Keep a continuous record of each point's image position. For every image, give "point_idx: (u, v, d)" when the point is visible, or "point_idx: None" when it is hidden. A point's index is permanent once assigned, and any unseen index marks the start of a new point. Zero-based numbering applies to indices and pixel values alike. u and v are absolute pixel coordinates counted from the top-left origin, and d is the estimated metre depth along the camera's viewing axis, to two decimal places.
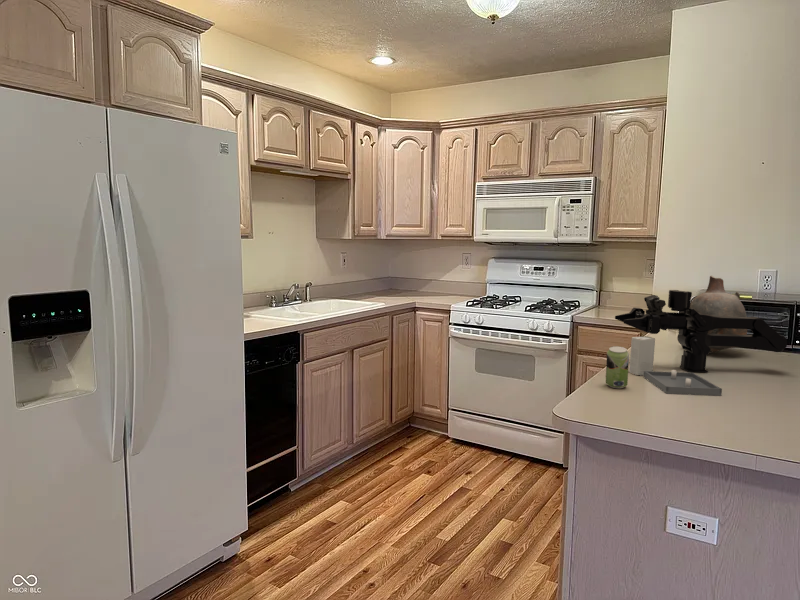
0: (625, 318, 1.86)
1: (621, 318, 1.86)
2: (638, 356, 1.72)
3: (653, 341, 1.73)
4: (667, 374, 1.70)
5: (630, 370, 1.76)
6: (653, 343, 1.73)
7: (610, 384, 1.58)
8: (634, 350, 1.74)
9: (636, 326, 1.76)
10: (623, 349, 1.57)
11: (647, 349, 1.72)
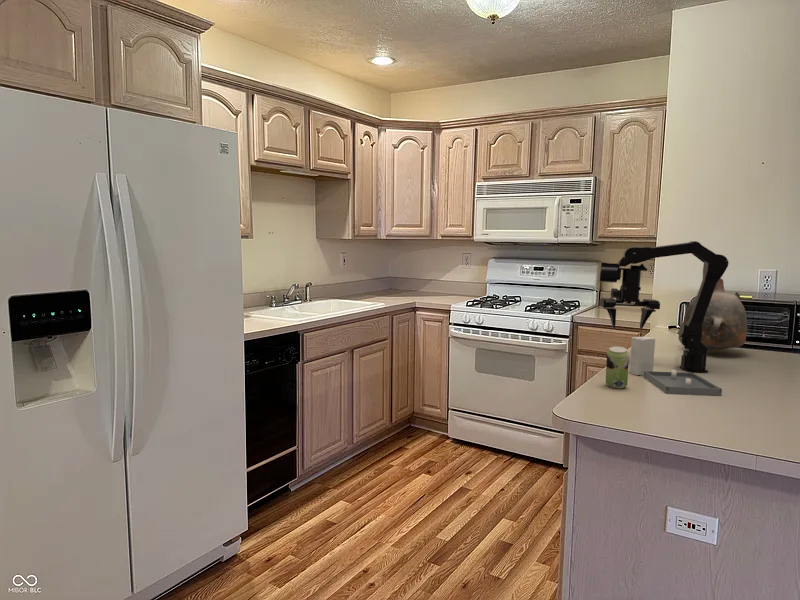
0: (642, 318, 1.85)
1: (641, 322, 1.86)
2: (638, 356, 1.72)
3: (653, 341, 1.73)
4: (667, 374, 1.70)
5: (630, 370, 1.76)
6: (653, 343, 1.73)
7: (610, 384, 1.58)
8: (634, 350, 1.74)
9: (611, 317, 1.85)
10: (623, 349, 1.57)
11: (647, 349, 1.72)
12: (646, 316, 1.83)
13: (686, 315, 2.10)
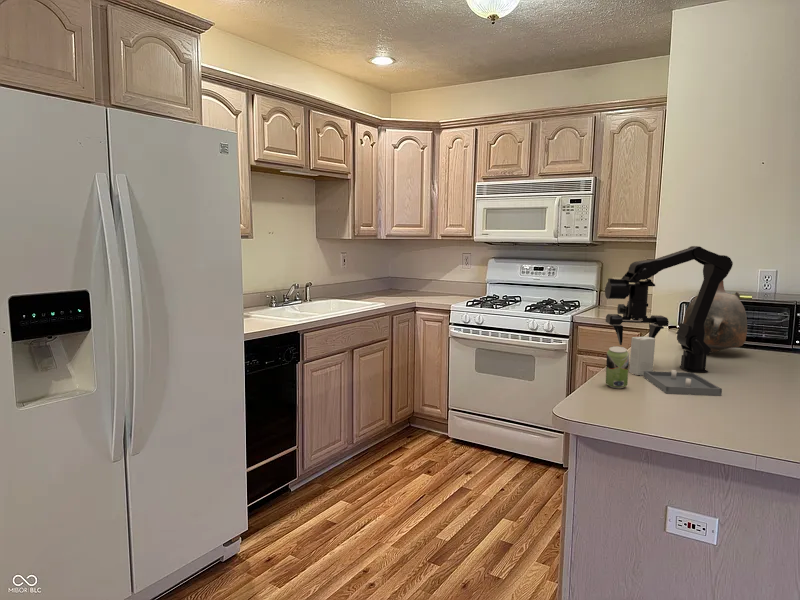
0: (650, 335, 1.80)
1: None
2: (638, 356, 1.72)
3: (653, 341, 1.73)
4: (667, 374, 1.70)
5: (630, 370, 1.76)
6: (653, 343, 1.73)
7: (610, 384, 1.58)
8: (634, 350, 1.74)
9: (618, 334, 1.80)
10: (623, 349, 1.57)
11: (647, 349, 1.72)
12: (654, 333, 1.78)
13: (686, 315, 2.10)
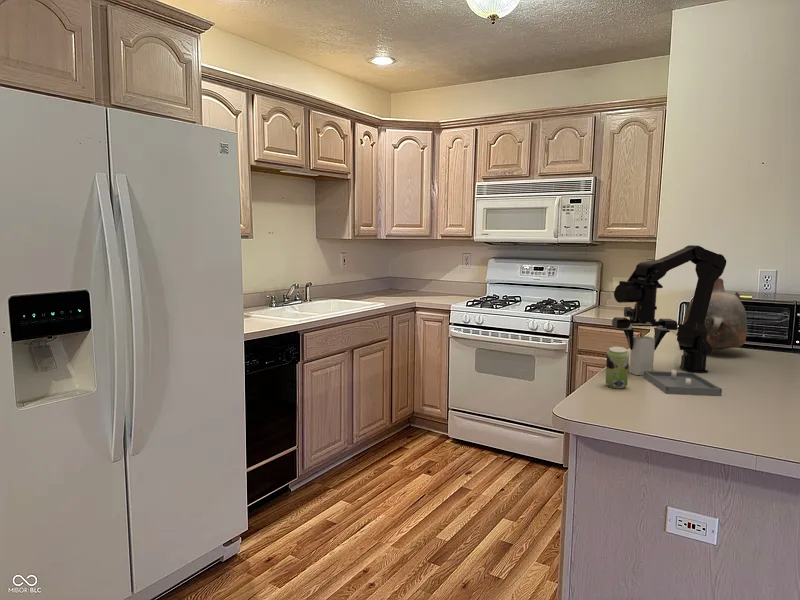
0: (655, 339, 1.73)
1: None
2: (638, 356, 1.72)
3: (653, 341, 1.73)
4: (667, 374, 1.70)
5: (630, 370, 1.76)
6: (653, 343, 1.73)
7: (610, 384, 1.58)
8: (634, 350, 1.74)
9: (628, 338, 1.73)
10: (623, 349, 1.57)
11: (647, 349, 1.72)
12: (660, 337, 1.71)
13: (686, 315, 2.10)
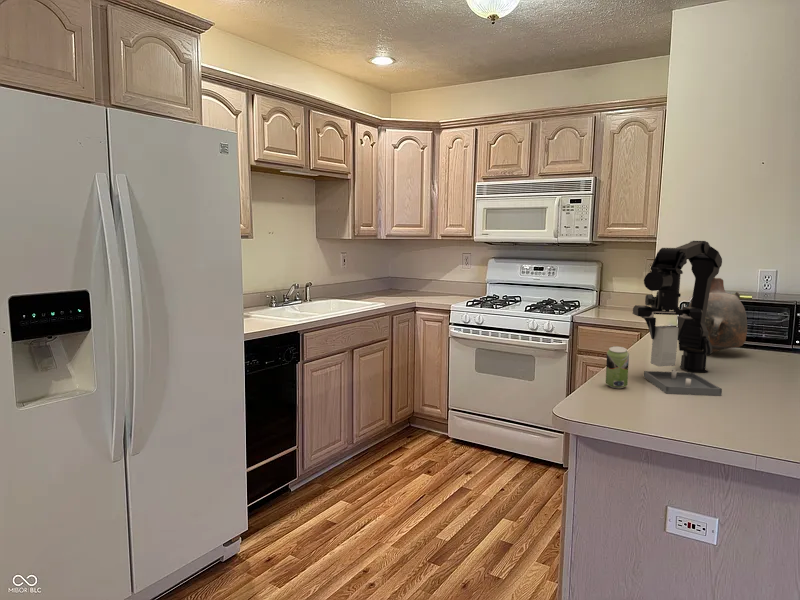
0: None
1: None
2: (660, 346, 1.64)
3: (676, 330, 1.64)
4: (667, 374, 1.70)
5: (651, 361, 1.68)
6: (676, 332, 1.64)
7: (610, 384, 1.58)
8: (656, 339, 1.65)
9: (650, 327, 1.65)
10: (623, 349, 1.57)
11: (670, 339, 1.64)
12: (683, 326, 1.63)
13: None
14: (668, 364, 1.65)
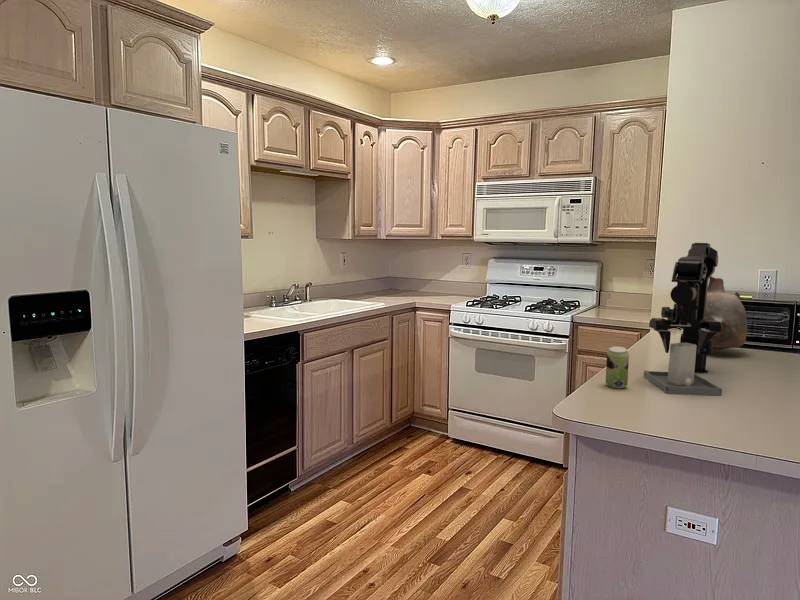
0: (700, 342, 1.60)
1: (699, 347, 1.60)
2: (677, 364, 1.59)
3: (694, 348, 1.59)
4: (667, 374, 1.70)
5: (669, 379, 1.62)
6: (694, 350, 1.59)
7: (610, 384, 1.58)
8: (674, 357, 1.60)
9: (665, 341, 1.59)
10: (623, 349, 1.57)
11: (688, 357, 1.59)
12: (706, 340, 1.58)
13: None
14: None
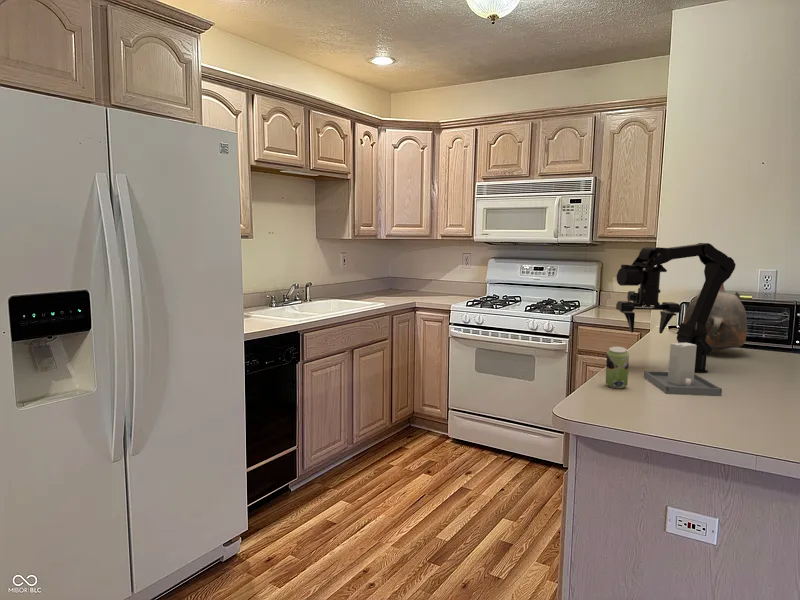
0: (661, 322, 1.76)
1: (661, 327, 1.76)
2: (677, 364, 1.59)
3: (694, 348, 1.59)
4: (667, 374, 1.70)
5: (669, 379, 1.62)
6: (694, 350, 1.59)
7: (610, 384, 1.58)
8: (674, 357, 1.60)
9: (629, 321, 1.76)
10: (623, 349, 1.57)
11: (688, 357, 1.59)
12: (666, 320, 1.74)
13: (686, 315, 2.10)
14: None
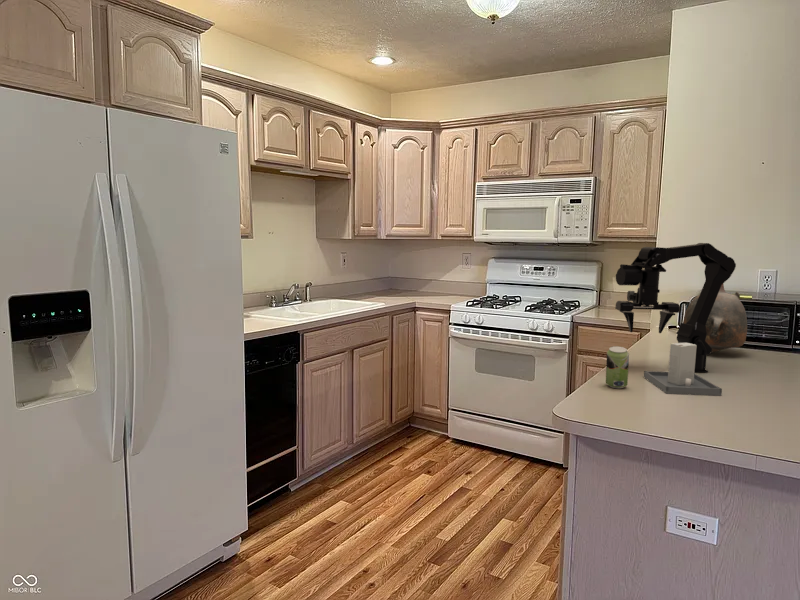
0: (661, 322, 1.76)
1: (660, 326, 1.77)
2: (677, 364, 1.59)
3: (694, 348, 1.59)
4: (667, 374, 1.70)
5: (669, 379, 1.62)
6: (694, 350, 1.59)
7: (610, 384, 1.58)
8: (674, 357, 1.60)
9: (629, 321, 1.76)
10: (623, 349, 1.57)
11: (688, 357, 1.59)
12: (665, 320, 1.74)
13: (686, 315, 2.10)
14: None
